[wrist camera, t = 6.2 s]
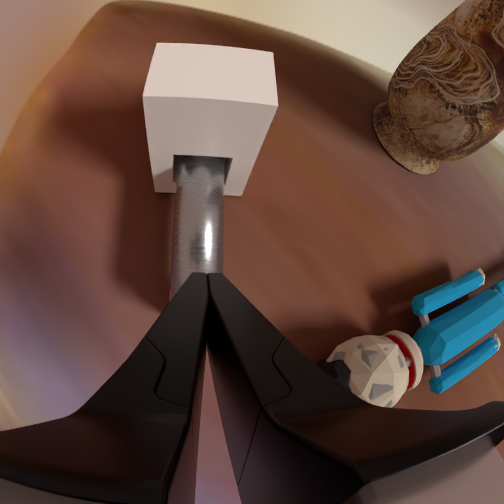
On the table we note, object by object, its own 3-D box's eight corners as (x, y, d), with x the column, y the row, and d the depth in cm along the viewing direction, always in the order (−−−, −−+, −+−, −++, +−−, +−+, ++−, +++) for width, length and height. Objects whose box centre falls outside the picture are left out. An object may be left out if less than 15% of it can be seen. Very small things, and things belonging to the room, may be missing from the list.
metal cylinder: (218, 319, 20) (228, 312, 16) (171, 318, 20) (166, 311, 15) (221, 114, 25) (230, 71, 20) (184, 111, 24) (187, 68, 19)
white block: (241, 196, 23) (278, 105, 13) (155, 192, 21) (142, 96, 12) (240, 148, 24) (273, 52, 15) (161, 144, 23) (157, 42, 13)
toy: (512, 248, 29) (285, 339, 21) (546, 233, 24) (317, 338, 16) (527, 310, 27) (314, 442, 20) (562, 302, 22) (351, 467, 14)
